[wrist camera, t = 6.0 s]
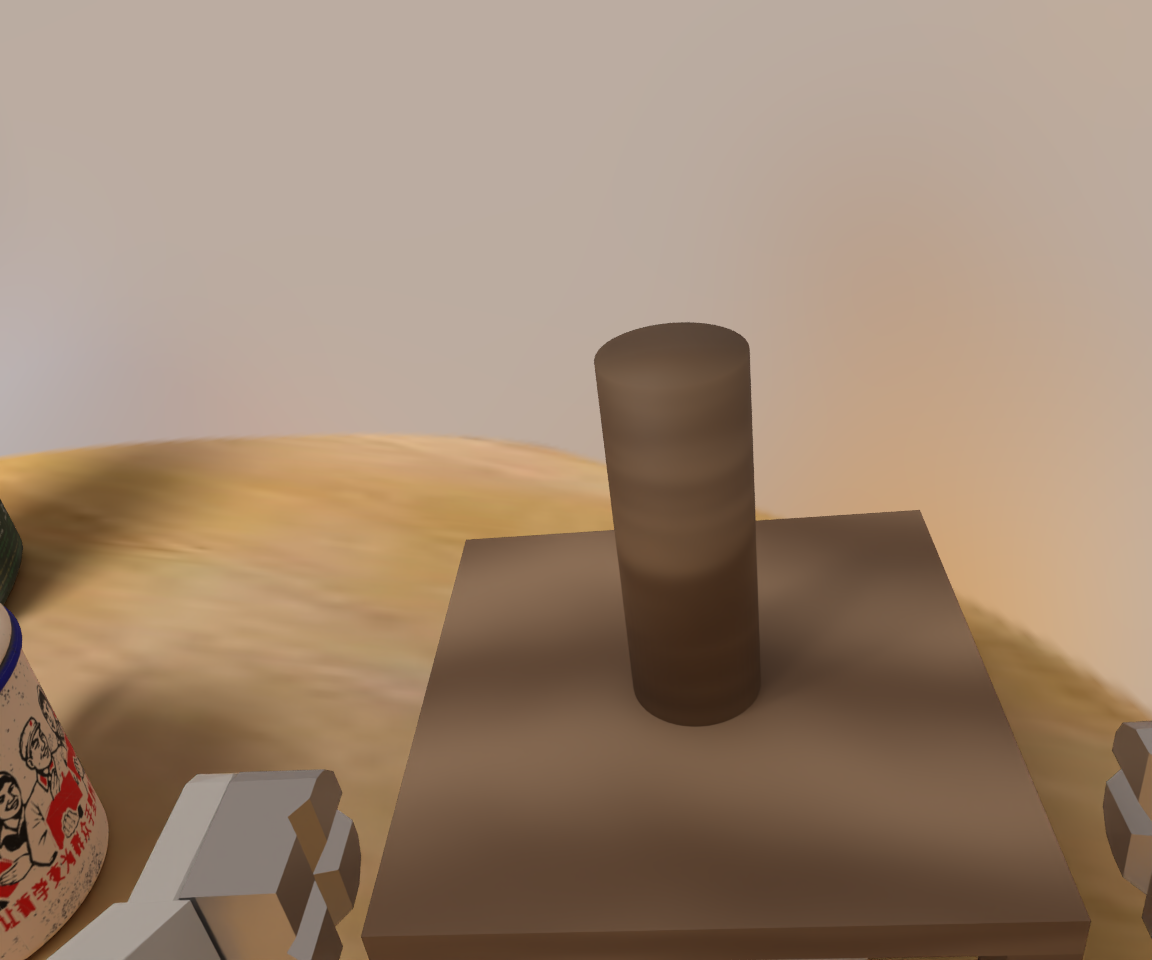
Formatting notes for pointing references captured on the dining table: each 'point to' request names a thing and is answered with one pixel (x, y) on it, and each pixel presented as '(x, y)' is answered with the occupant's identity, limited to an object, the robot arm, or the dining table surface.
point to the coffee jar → (8, 554)
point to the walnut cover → (713, 725)
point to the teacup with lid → (40, 810)
